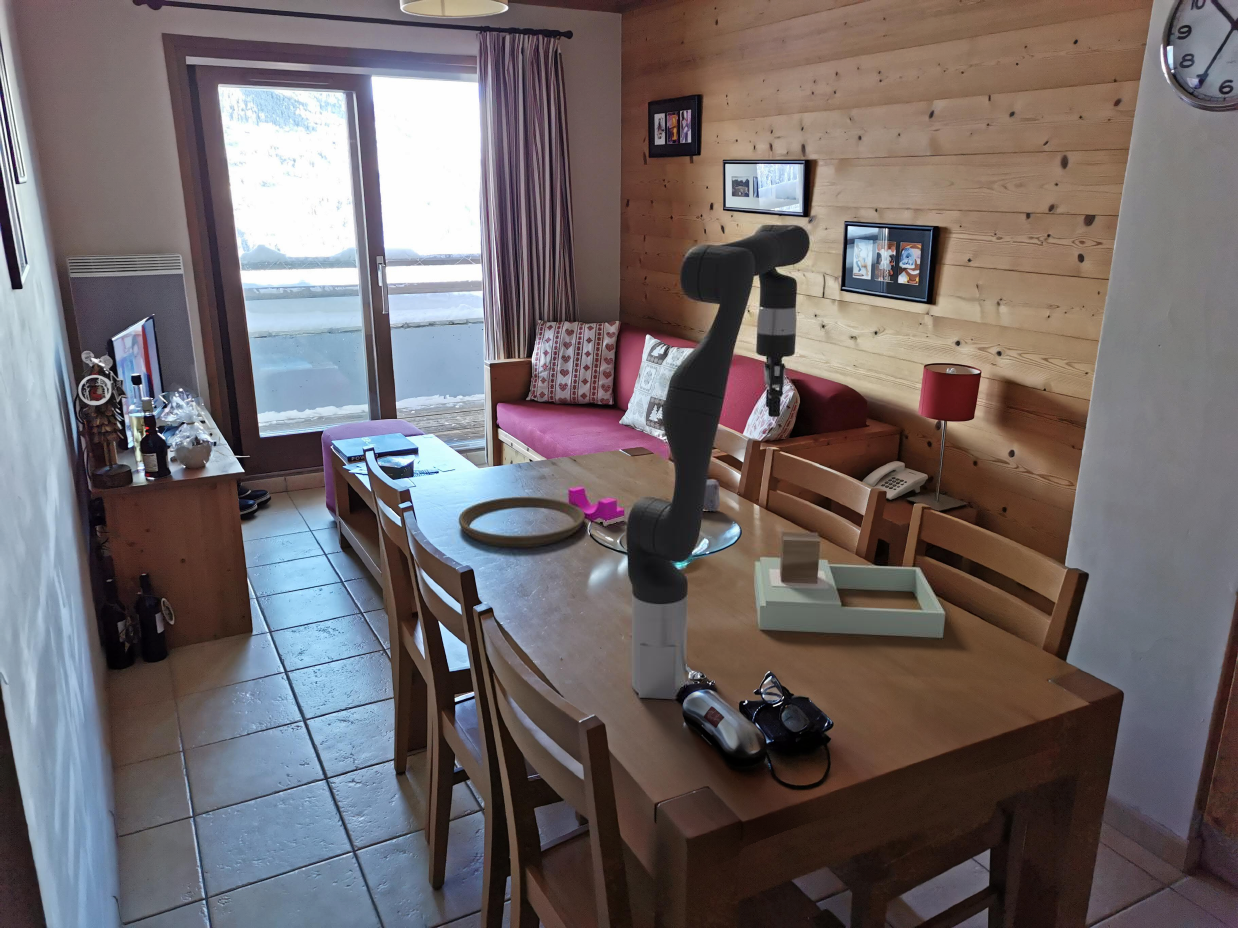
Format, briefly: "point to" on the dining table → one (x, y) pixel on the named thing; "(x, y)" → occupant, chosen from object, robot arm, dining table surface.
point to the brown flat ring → (512, 502)
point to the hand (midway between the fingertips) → (772, 411)
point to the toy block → (594, 505)
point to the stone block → (711, 496)
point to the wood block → (799, 557)
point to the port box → (822, 604)
